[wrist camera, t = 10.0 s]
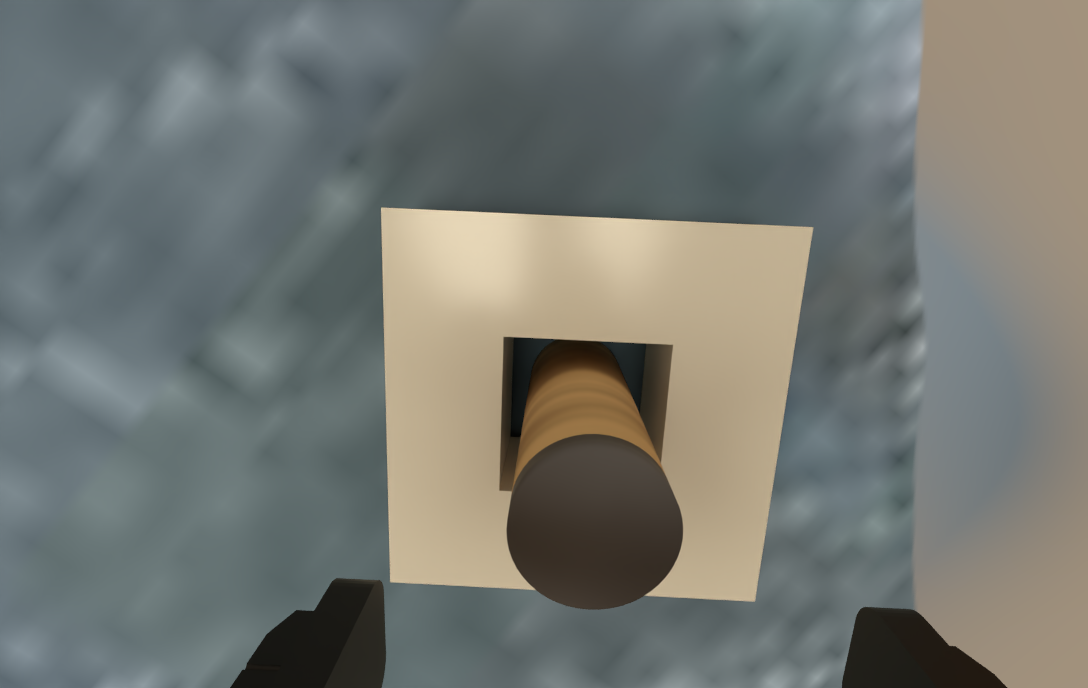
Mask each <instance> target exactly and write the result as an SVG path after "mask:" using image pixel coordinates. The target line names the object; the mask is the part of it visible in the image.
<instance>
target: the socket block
mask: <svg viewBox="0 0 1088 688" xmlns="http://www.w3.org/2000/svg"><path fill="white" fill-rule="evenodd" d="M381 224H382V264H383V305H384V345H385V386H386V426H387V467H388V507H389V548H390V582H398V583H417V584H436V585H455V586H473V587H492V588H511V589H530V590H536V589H534V588H533V587H532V586H531V585H530V584H529V583H528V582H527V581H526V580H525V579H524V578H523V577H522V575H521V574H520V572H519V571H518V569H517V568H516V566H515V564H514V562H513V560H512V558H511V555H510V552H509V548H508V543H507V532H506V528H507V518H508V512H509V506H510V500H511V494H512V488H513V482H514V475H515V469H516V463H517V457H518V451H519V445H520V439H521V437H510V436H511V404H512V373H513V342H514V337H522V338H543V339H564V340H585V341H605V342H626V343H646V351H645V362H644V373H643V384H642V395H641V406H640V416H641V419H642V421H643V423H644V426H645V428H646V430H647V433H648V435H649V437H650V440H651V442H652V444H653V447H654V449H655V451H656V454H657V456H658V458H659V461H660V463H661V465H662V468H663V470H664V472H665V475H666V477H667V479H668V482H669V484H670V486H671V489H672V491H673V493H674V496H675V498H676V500H677V503H678V505H679V507H680V511H681V515H682V521H683V540H682V545H681V549H680V552H679V555H678V558H677V560H676V562H675V564H674V566H673V568H672V569H671V571H670V572H669V574H668V575H667V576H666V577H665V579H664V580H663V581H662V582H661V583H660V584H659V585H658V586H657V587H655V588H654V589H653V590H652V591H651V592H649V593H648V594H646V595H644V596H661V597H680V598H698V599H717V600H736V601H755V597H756V590H757V584H758V577H759V571H760V565H761V558H762V552H763V545H764V539H765V533H766V526H767V520H768V513H769V507H770V501H771V494H772V488H773V481H774V475H775V469H776V462H777V456H778V449H779V443H780V437H781V430H782V424H783V417H784V411H785V405H786V398H787V392H788V385H789V379H790V373H791V366H792V360H793V353H794V347H795V341H796V334H797V328H798V321H799V315H800V309H801V302H802V296H803V289H804V283H805V277H806V270H807V264H808V257H809V251H810V245H811V238H812V232H813V227H795V226H773V225H751V224H730V223H708V222H686V221H664V220H642V219H620V218H598V217H576V216H554V215H532V214H510V213H488V212H466V211H444V210H422V209H400V208H381Z"/></svg>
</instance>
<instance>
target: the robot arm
mask: <svg viewBox="0 0 1088 688" xmlns="http://www.w3.org/2000/svg"><path fill="white" fill-rule="evenodd" d="M385 663H386V644H385V614H384V589H383V584H382V582H381V581H380V580H362V579H343V578H336V579H335V580H333V581H332V583H331V584H330V586H329V587H328V589H327V591H326V592H325V594H324V595H323V597H322V599H321V600H320V602H319V604H318V605H317V607H316V609H315V610H314V611H302V610H296V611H295V612H294V613H292V614H291V615H290V616H289V617H287V618H286V619H285V620H284V621H282V622H281V623H280V624H279V625H278V626H276V627H275V628H274V629H273V630H271V631H270V632H269V633H268V634H267V635H266V636H265V638H264V639H263V641H262V642H261V644H260V645H259V646H258V648H257V649H256V651H255V652H254V654H253V655H252V657H251V658H250V660H249V661H248V663H247V666H246V669H245V670H242V671H241V673H240V674H239V676H238V677H237V679H236V680H235V682H234V683H233V684H232V686H231V687H230V688H381V687H382V683H383V678H384V671H385ZM842 688H1007V687H1006V686H1005V685H1004V684H1003V683H1002V682H1001V681H1000V680H999V679H998V678H997V677H996V676H995V674H993V673H992V672H990V671H989V670H988V669H986V668H985V667H983V666H982V665H981V664H979V663H978V662H976V661H975V660H974V659H972V658H971V657H969V656H968V655H967V654H965V653H964V652H963V651H961V650H960V649H958V648H957V647H956V646H949V645H948V644H947V643H946V642H945V641H944V639H943V638H942V637H941V636H940V635H939V634H938V633H937V632H936V631H935V630H934V629H933V627H932V626H931V625H930V624H929V623H928V622H927V621H926V620H925V619H924V617H922V616H921V615H920V614H919V613H918V612H916V611H914V610H910V609H894V608H875V607H864V608H862V609H860V611H859V612H858V614H857V617H856V620H855V625H854V630H853V634H852V639H851V643H850V648H849V653H848V657H847V662H846V666H845V671H844V676H843V681H842Z"/></svg>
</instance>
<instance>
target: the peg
mask: <svg viewBox="0 0 1088 688" xmlns="http://www.w3.org/2000/svg"><path fill="white" fill-rule="evenodd" d="M506 532H507V543H508V548H509V552H510V555H511V558H512V560H513V562H514V564H515V566H516V568H517V569H518V571H519V572H520V574H521V575H522V577H523V578H524V579H525V580H526V581H527V582H528V583H529V584H530V585H531V586H532V587H533V588H534V589H536V590H537V591H538V592H539V593H541V594H543V595H544V596H546V597H547V598H549V599H551V600H553V601H555V602H558V603H561V604H563V605H566V606H570V607H575V608H580V609H608V608H614V607H618V606H622V605H625V604H628V603H631V602H633V601H635V600H637V599H639V598H641V597H643V596H644V595H646V594H648V593H649V592H651V591H652V590H653V589H654V588H655V587H657V586H658V585H659V584H660V583H661V582H662V581H663V580H664V579H665V577H666V576H667V575H668V574H669V572H670V571H671V569H672V568H673V566H674V564H675V562H676V560H677V558H678V555H679V552H680V549H681V545H682V540H683V521H682V515H681V511H680V507H679V505H678V503H677V500H676V498H675V496H674V493H673V491H672V489H671V486H670V484H669V482H668V479H667V477H666V475H665V472H664V470H663V468H662V465H661V463H660V461H659V458H658V456H657V454H656V451H655V449H654V447H653V444H652V442H651V440H650V437H649V435H648V433H647V430H646V428H645V426H644V423H643V421H642V419H641V416H640V414H639V412H638V409H637V407H636V405H635V402H634V400H633V398H632V395H631V393H630V391H629V388H628V386H627V384H626V381H625V379H624V377H623V374H622V372H621V370H620V367H619V365H618V363H617V360H616V358H615V357H614V355H613V354H612V352H611V351H610V350H609V349H608V348H607V347H606V346H605V345H603V344H602V343H600V342H599V341H585V340H564V339H558V340H555V341H553V342H552V343H550V344H549V345H547V346H546V347H545V348H544V349H543V350H542V351H541V352H540V354H539V355H538V356H537V358H536V360H535V362H534V364H533V367H532V371H531V377H530V383H529V390H528V396H527V402H526V408H525V414H524V420H523V426H522V433H521V439H520V445H519V451H518V457H517V463H516V469H515V475H514V482H513V488H512V494H511V500H510V506H509V512H508V518H507V528H506Z"/></svg>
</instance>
